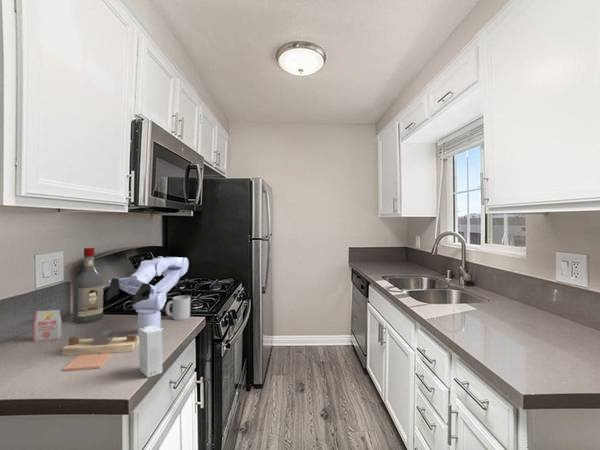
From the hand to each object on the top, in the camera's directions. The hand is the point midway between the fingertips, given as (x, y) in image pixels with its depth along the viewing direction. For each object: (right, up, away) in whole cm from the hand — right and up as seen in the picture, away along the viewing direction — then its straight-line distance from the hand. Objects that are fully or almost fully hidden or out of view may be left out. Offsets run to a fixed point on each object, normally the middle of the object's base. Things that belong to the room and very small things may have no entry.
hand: (119, 299), depth 94 cm
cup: (+2, -18, +40) cm, 44 cm away
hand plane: (-10, -18, +7) cm, 21 cm away
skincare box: (+13, -19, -7) cm, 24 cm away
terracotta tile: (-8, -18, -2) cm, 20 cm away
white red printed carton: (-34, -17, +14) cm, 41 cm away
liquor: (-34, -17, +36) cm, 52 cm away
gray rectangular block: (-10, -16, +7) cm, 20 cm away
